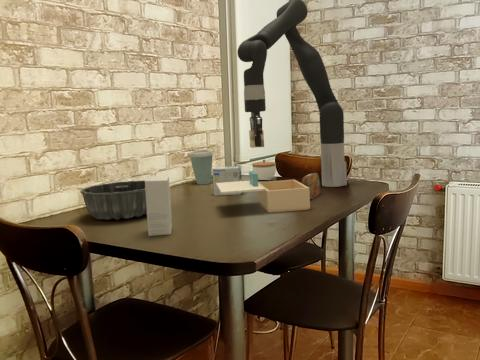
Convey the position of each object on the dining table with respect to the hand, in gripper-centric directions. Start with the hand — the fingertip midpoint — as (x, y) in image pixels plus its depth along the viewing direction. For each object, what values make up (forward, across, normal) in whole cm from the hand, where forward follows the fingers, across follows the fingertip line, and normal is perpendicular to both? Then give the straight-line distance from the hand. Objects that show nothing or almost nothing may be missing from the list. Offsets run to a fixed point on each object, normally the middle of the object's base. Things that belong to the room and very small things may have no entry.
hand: (257, 145), depth 177 cm
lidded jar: (+20, -42, +9) cm, 47 cm away
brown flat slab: (+20, +6, +18) cm, 27 cm away
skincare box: (+20, +39, -35) cm, 56 cm away
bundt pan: (+20, +11, -48) cm, 53 cm away
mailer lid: (+12, +17, -9) cm, 23 cm away
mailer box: (+19, +17, +5) cm, 26 cm away
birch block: (0, 0, 0) cm, 0 cm away
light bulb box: (+20, -14, -10) cm, 26 cm away
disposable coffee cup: (+20, -46, -19) cm, 53 cm away
